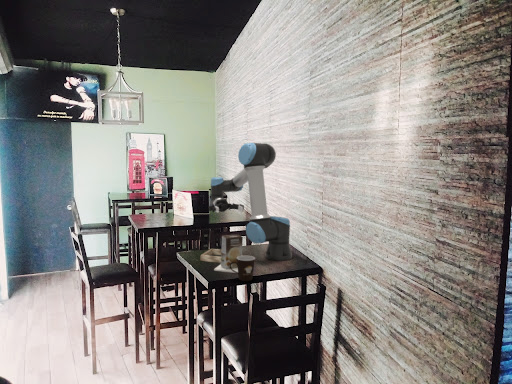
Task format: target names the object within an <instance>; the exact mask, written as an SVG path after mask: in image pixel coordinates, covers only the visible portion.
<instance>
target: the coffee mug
mask: <svg viewBox="0 0 512 384" xmlns="http://www.w3.org/2000/svg"><path fill="white" fill-rule="evenodd" d="M255 262H256V257H255V256H252V255H242V256H238V257H237V262H232V263H230V269H231V270H232V268H231V264H233V263H236V264H237V266H238V272H236V271H234V270H232V271H233V272H235V274H237V275H238V276H237V277H238V280H239V281H242V282H250V281H252V280H253V275H254V268H255Z"/></svg>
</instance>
